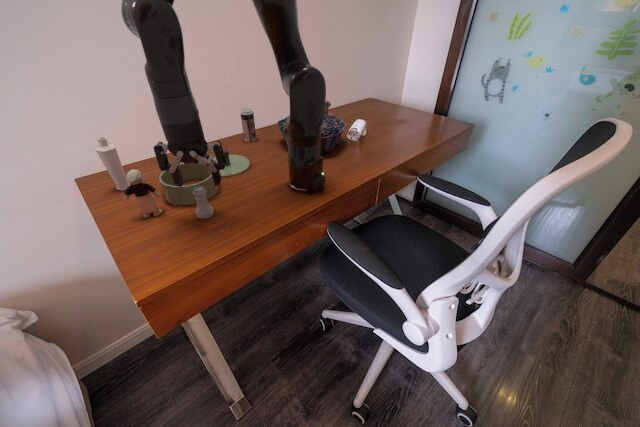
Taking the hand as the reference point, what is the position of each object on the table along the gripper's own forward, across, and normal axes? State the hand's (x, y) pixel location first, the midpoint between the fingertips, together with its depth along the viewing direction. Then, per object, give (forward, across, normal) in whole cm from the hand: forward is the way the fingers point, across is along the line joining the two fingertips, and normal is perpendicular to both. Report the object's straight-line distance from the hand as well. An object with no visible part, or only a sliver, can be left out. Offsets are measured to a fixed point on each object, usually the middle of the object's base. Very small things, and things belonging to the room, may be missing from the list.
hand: (199, 184), depth 67 cm
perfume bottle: (+9, -28, +14) cm, 33 cm away
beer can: (+10, +4, +49) cm, 50 cm away
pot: (+9, -7, +11) cm, 16 cm away
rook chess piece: (+10, -1, 0) cm, 10 cm away
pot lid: (+9, 0, +26) cm, 28 cm away
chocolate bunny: (+11, +36, +72) cm, 82 cm away
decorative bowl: (+10, +28, +46) cm, 55 cm away
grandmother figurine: (+9, -15, +1) cm, 18 cm away
